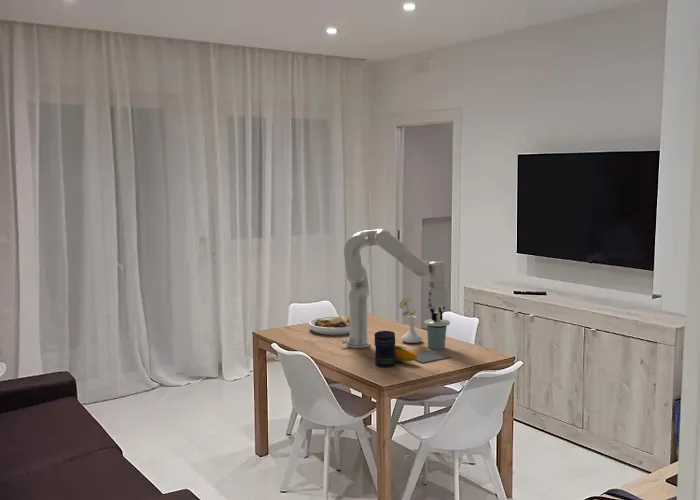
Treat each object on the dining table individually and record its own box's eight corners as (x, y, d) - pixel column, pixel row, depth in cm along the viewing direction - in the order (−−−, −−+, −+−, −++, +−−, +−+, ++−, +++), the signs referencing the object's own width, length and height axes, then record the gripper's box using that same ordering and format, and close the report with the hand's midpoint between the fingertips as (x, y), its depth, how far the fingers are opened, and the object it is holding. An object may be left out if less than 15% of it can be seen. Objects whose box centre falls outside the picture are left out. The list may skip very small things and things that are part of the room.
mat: (422, 363, 317) (422, 362, 317) (404, 356, 329) (404, 355, 329) (451, 357, 327) (451, 356, 327) (432, 351, 339) (432, 350, 339)
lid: (435, 327, 335) (435, 315, 334) (419, 322, 346) (419, 311, 345) (455, 324, 342) (455, 312, 341) (438, 319, 353) (438, 308, 352)
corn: (385, 341, 328) (421, 347, 318) (384, 356, 329) (421, 363, 318) (378, 344, 322) (414, 349, 311) (377, 359, 323) (414, 365, 312)
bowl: (302, 327, 394) (302, 314, 393) (348, 322, 406) (348, 309, 405) (319, 338, 367) (319, 324, 366) (369, 333, 378) (369, 319, 378)
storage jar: (400, 363, 316) (399, 333, 313) (387, 369, 309) (386, 338, 306) (384, 359, 323) (383, 329, 320) (370, 364, 316) (369, 334, 313)
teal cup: (429, 344, 352) (429, 322, 350) (448, 346, 348) (448, 323, 347) (425, 349, 342) (425, 326, 341) (444, 351, 339) (444, 328, 337)
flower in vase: (416, 338, 365) (417, 293, 362) (426, 343, 354) (426, 297, 351) (395, 340, 360) (395, 295, 357) (403, 345, 350) (404, 299, 347)
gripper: (429, 287, 334) (429, 323, 336) (454, 284, 343) (453, 319, 345) (420, 285, 340) (420, 320, 342) (444, 282, 349) (444, 316, 351)
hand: (437, 319), depth 343 cm, fingers closed on lid, 3 cm apart
